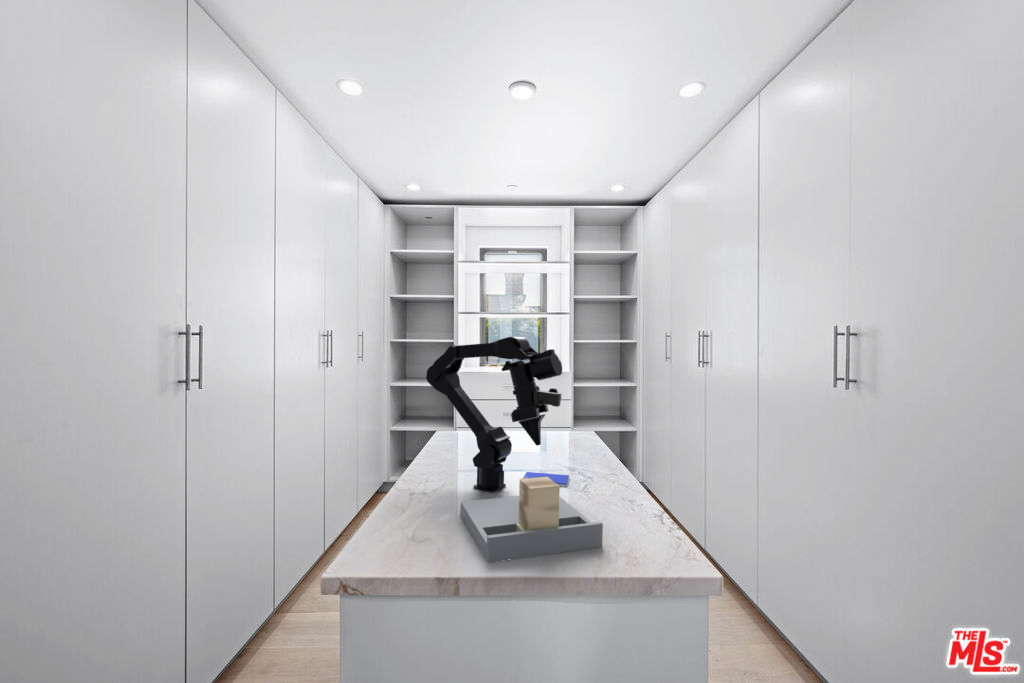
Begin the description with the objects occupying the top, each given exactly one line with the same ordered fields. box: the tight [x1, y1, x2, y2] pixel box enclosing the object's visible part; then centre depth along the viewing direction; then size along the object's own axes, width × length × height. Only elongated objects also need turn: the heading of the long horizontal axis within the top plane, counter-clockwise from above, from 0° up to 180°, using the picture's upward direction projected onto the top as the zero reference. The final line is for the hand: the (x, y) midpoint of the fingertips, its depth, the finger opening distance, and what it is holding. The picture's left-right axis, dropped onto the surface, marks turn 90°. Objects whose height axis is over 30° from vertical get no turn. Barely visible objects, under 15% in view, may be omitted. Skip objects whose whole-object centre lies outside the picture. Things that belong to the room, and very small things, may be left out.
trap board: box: [460, 495, 604, 564], centre depth 97 cm, size 23×23×4 cm
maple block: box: [518, 477, 560, 531], centre depth 91 cm, size 6×6×9 cm
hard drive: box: [522, 471, 570, 488], centre depth 131 cm, size 2×8×12 cm
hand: (538, 445), depth 117 cm, fingers closed
